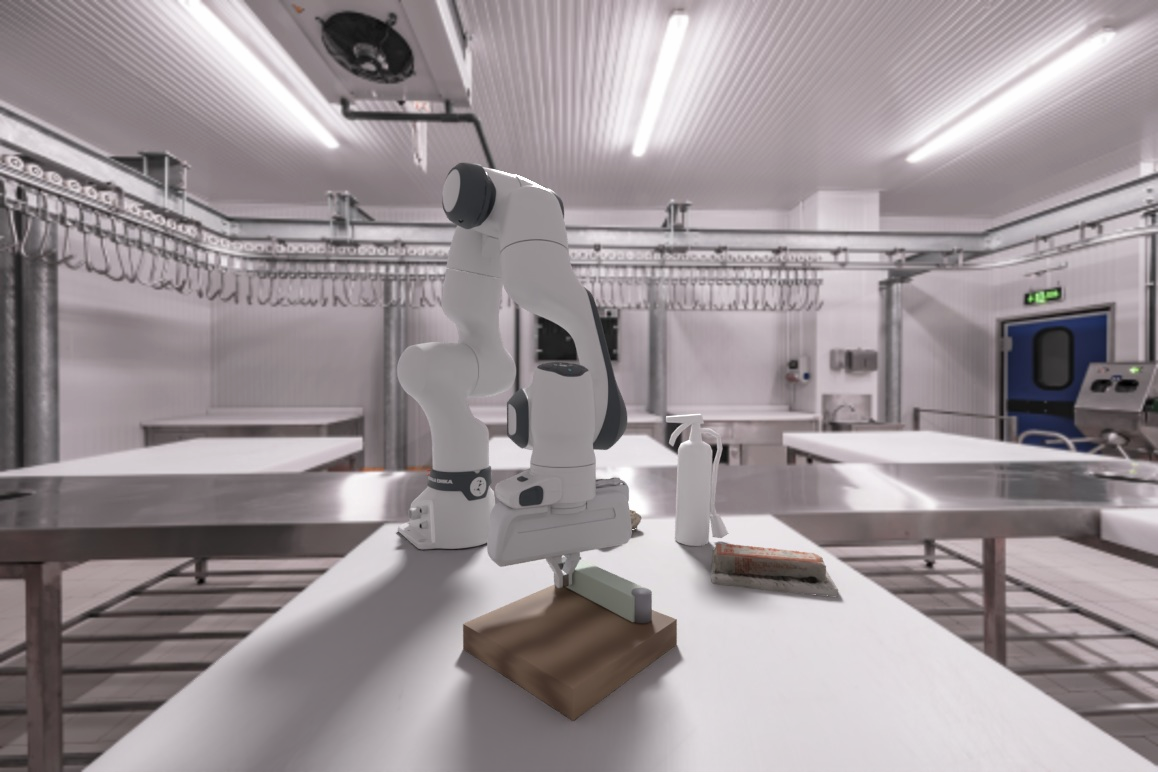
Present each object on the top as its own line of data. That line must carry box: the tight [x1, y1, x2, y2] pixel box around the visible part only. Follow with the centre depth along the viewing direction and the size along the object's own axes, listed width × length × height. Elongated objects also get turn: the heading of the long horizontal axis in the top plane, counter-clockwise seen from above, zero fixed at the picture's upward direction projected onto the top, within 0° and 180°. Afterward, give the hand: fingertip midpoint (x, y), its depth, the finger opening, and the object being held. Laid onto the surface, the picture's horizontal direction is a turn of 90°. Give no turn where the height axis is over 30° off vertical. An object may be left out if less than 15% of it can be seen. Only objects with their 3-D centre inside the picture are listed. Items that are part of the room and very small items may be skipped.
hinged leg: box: [558, 556, 653, 623], centre depth 64 cm, size 16×3×3 cm, turn 39°
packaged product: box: [710, 543, 839, 597], centre depth 78 cm, size 18×5×10 cm
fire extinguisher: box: [665, 413, 729, 547], centre depth 96 cm, size 7×12×25 cm, turn 83°
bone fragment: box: [630, 509, 642, 530], centre depth 100 cm, size 14×6×5 cm, turn 145°
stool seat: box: [462, 583, 678, 722], centre depth 58 cm, size 18×18×3 cm
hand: (563, 585), depth 66 cm, fingers closed
